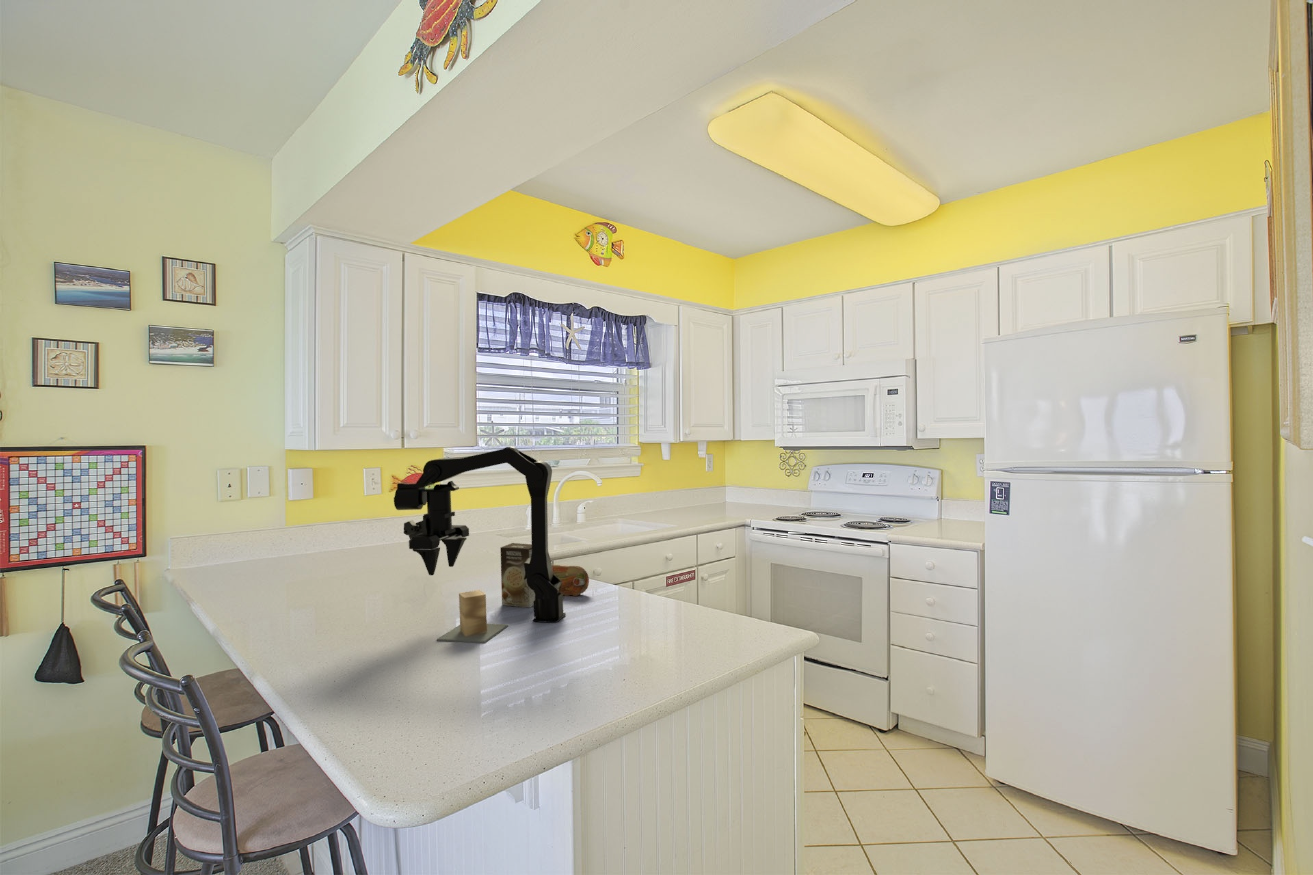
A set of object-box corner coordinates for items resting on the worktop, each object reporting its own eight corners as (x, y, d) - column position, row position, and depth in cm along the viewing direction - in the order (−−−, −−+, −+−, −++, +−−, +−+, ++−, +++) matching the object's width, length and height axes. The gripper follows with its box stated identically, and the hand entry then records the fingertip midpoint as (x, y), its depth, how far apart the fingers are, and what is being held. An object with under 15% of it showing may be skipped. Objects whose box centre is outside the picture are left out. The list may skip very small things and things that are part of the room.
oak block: (481, 626, 155) (479, 589, 155) (487, 632, 151) (485, 594, 150) (460, 630, 152) (458, 593, 152) (465, 636, 148) (464, 597, 148)
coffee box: (500, 605, 174) (498, 547, 174) (513, 599, 180) (511, 542, 180) (530, 607, 171) (528, 548, 171) (542, 601, 177) (540, 543, 177)
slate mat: (508, 626, 156) (508, 624, 156) (484, 642, 144) (484, 641, 144) (463, 624, 159) (463, 622, 159) (436, 640, 147) (436, 638, 147)
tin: (539, 593, 186) (538, 564, 186) (545, 590, 189) (544, 562, 188) (585, 597, 180) (584, 567, 180) (590, 594, 183) (590, 565, 183)
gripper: (431, 504, 171) (433, 562, 171) (387, 514, 153) (390, 579, 153) (469, 504, 169) (471, 562, 169) (429, 514, 150) (432, 580, 151)
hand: (441, 570), depth 161 cm, fingers open, 9 cm apart
